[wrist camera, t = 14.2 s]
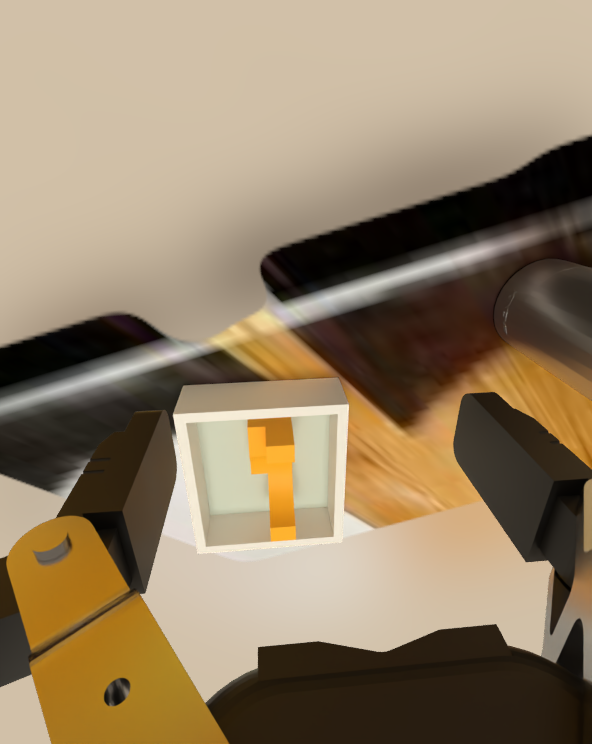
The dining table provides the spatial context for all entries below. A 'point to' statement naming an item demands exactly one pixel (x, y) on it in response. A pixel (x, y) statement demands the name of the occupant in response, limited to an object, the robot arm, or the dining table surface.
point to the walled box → (233, 469)
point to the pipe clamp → (275, 470)
